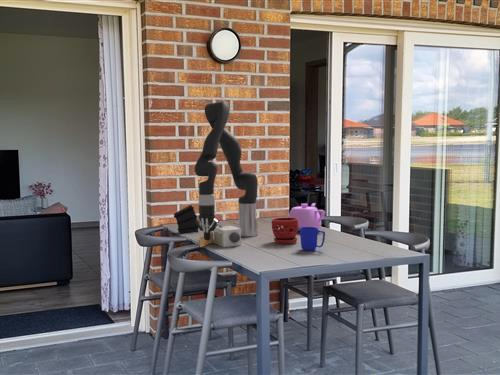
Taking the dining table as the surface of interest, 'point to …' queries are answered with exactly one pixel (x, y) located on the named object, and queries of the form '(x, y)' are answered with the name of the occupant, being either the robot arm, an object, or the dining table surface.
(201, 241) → the tan wooden plank
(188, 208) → the black ridged block
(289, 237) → the plant pot
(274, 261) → the dining table surface
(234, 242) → the camera body
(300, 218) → the teapot
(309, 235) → the mug
